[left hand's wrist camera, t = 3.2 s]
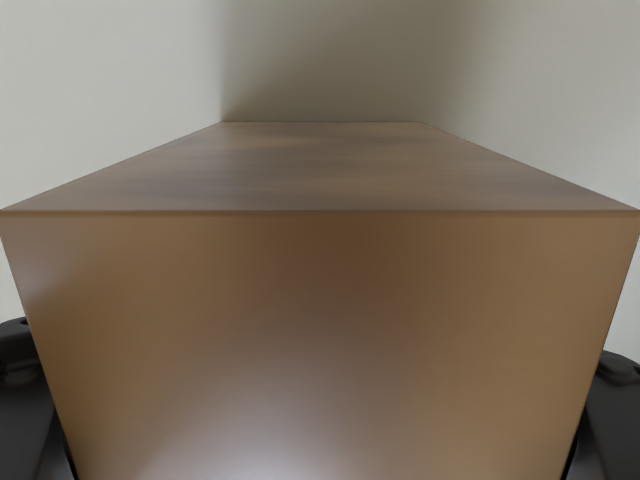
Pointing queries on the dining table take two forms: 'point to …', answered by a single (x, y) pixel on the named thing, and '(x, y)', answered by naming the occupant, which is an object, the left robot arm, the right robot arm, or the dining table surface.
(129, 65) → the dining table surface
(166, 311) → the brown wooden block
